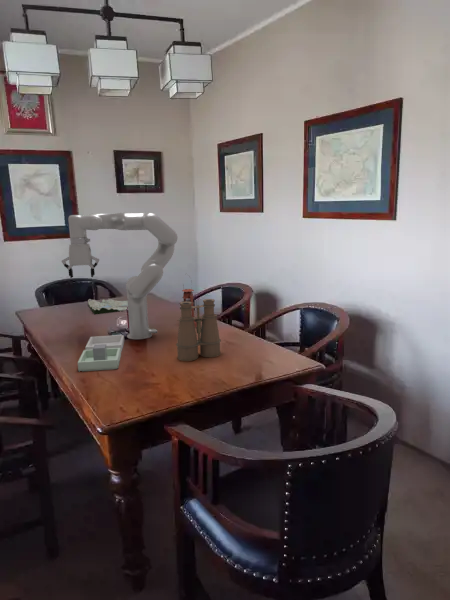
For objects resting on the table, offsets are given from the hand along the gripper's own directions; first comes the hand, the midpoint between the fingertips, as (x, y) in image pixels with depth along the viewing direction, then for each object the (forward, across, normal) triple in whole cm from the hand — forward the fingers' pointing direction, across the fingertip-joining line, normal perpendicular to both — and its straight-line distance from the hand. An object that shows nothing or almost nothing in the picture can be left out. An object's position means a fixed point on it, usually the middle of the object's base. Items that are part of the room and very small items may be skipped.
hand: (82, 277), depth 213 cm
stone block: (+32, -10, +31) cm, 46 cm away
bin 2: (+33, -10, +31) cm, 47 cm away
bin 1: (+33, -10, +11) cm, 36 cm away
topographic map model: (+34, -8, -78) cm, 86 cm away
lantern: (+34, -52, -21) cm, 65 cm away
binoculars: (+34, -53, +29) cm, 69 cm away
